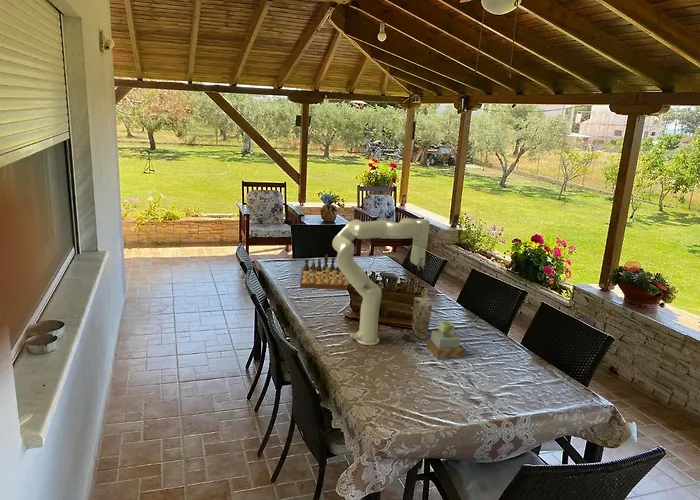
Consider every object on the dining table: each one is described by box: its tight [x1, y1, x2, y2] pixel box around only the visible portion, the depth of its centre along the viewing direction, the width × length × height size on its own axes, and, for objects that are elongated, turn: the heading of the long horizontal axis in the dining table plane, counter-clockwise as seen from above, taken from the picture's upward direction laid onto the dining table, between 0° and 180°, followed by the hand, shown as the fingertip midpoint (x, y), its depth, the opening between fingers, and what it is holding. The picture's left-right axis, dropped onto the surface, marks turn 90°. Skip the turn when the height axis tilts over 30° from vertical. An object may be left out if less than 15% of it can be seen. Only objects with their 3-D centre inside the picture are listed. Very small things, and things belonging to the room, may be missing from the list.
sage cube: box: [437, 321, 456, 338], centre depth 265 cm, size 6×6×6 cm
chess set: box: [299, 254, 350, 291], centre depth 371 cm, size 40×40×15 cm
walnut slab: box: [426, 338, 465, 360], centre depth 268 cm, size 14×14×5 cm
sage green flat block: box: [430, 330, 461, 349], centre depth 267 cm, size 11×11×5 cm
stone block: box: [411, 296, 433, 340], centre depth 286 cm, size 13×7×20 cm, turn 18°
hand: (416, 274), depth 275 cm, fingers open, 9 cm apart
